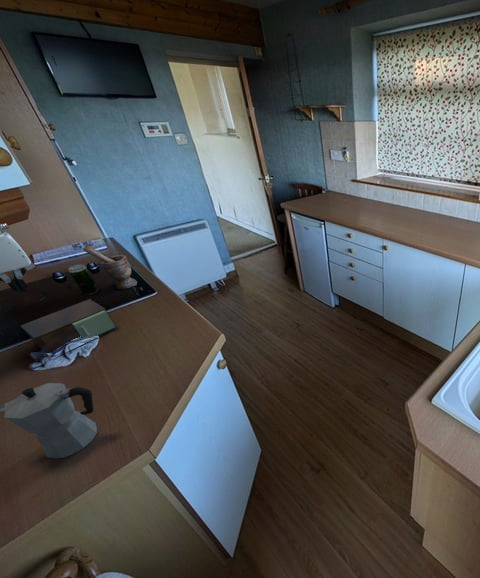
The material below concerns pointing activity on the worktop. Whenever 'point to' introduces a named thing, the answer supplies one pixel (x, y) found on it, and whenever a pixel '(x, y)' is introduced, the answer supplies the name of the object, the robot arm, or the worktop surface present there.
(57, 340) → the cupboard
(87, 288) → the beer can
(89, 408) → the coffeepot
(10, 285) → the robot arm
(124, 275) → the mortar and pestle
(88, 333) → the sliding door
